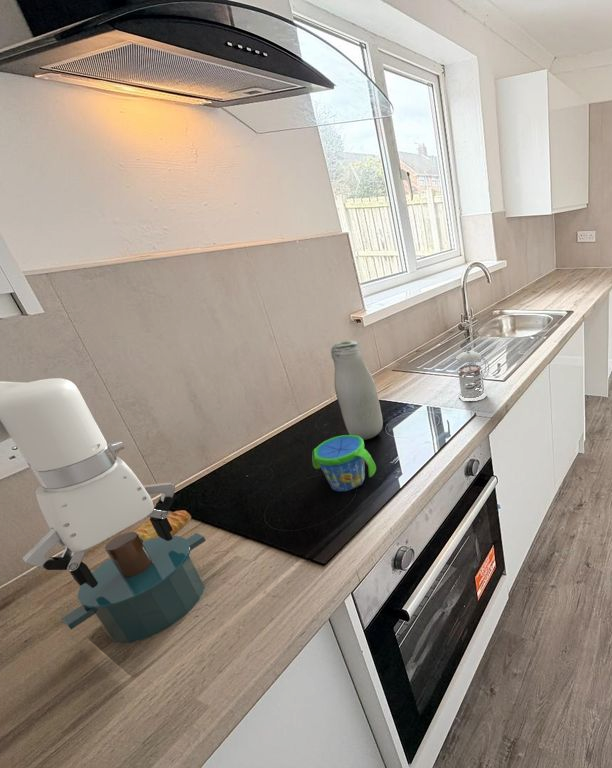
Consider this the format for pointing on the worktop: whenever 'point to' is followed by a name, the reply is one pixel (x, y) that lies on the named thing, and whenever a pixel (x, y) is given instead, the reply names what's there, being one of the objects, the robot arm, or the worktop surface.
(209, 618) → the worktop surface
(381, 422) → the glass bottle
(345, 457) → the snack cup
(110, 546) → the lid
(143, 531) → the pastry
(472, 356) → the french press
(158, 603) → the pot
